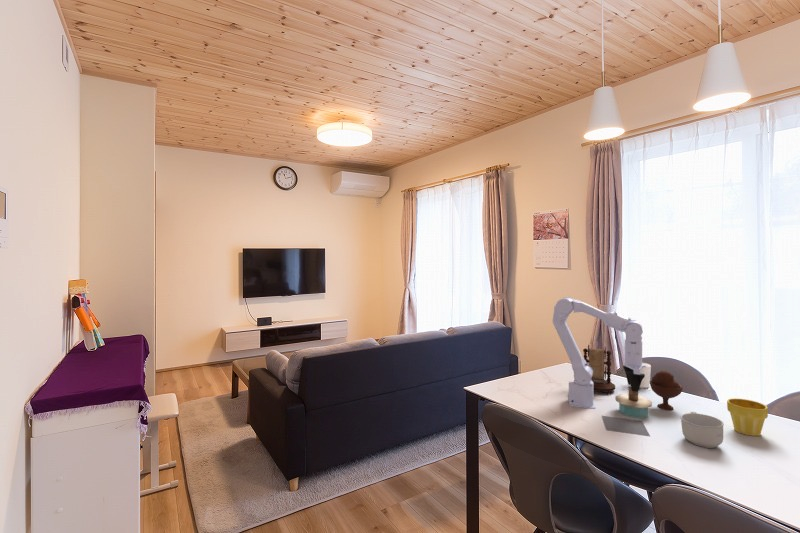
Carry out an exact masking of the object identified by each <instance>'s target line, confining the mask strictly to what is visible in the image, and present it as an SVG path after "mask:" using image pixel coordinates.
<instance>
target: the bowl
mask: <svg viewBox="0 0 800 533" xmlns="http://www.w3.org/2000/svg"><path fill="white" fill-rule="evenodd" d="M618 411H619V413H620V414H622V415H625V416H627V417H631V418H638V419H642V418H647V417H648V416H649V408H636V407H630V406H626V405H623V404H620V403H618Z"/></svg>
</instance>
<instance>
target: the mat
mask: <svg viewBox="0 0 800 533" xmlns="http://www.w3.org/2000/svg"><path fill="white" fill-rule="evenodd" d="M601 417H602V421H603V424H604V427H605V431H611V432H617V433H623V434H624V433H625V434H632V435H637V436H645V437H651V435H650V433H649V431H648V429H647V428H646V426H645V424H644V422H643V421H642V420H639V419H638V420H637V419H631V418H623V417H622V418H621V417H615V416H608V415H602V416H601Z"/></svg>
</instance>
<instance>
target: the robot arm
mask: <svg viewBox="0 0 800 533" xmlns="http://www.w3.org/2000/svg"><path fill="white" fill-rule="evenodd" d="M572 312H573V313H574V314H575V313H584V314H586V315H589V316H592V317H594V318H597V319H599V320H601V321H603V324H604V325H606V326H607V327H610V328H612V329H614V330H616V331H619V332H622V333H623V332H624V334H625V339H624V363H623V365H622V368H623V369H624V370H623V371H624V372H625V376H626V381H627V385H628V386H630V387H631V389H632V391H636V392H638V393H639V392H640V388H641V387H640V385H641V382H642V380H643V378H644V377H645V374H641V373H640V370H641V369H642V368H643V367H646V365H644V364H642V363H643V341H642V340H643V336H642V335H643V333H644V331H643V327H642V326H643V325H642V324H641V323H640V322H638V321H637V320H636V319H632V318H630V317H626V316H624V315H623V316H622V315H621V314H619V312H617V311H609V312H606V311H603V310H602V309H601V310H600V309H598V308H597V307H594V306H592V305H590V304H589V303H586V302H583V301H581V300H579V299H576V298H572V297H570V296H565V297H562V298H560V299H559V300H558V301H557V302H556V303H555V305H554V307H553V316H552V324H553V326H554V329H555V330H556V332H557V335H558V337H559V339H560V341H561V344H562V346H563V347H564V350H565V352H566V354H567V356H568V358H569V360H570V363H571V369H572V370H573V378H574V380H573V381H568V395H567V400H568V405H569V406H570V407H575V408H576V407H577V408H585V409H593V410H595V409H596V406H595V402H594V383H593V382H592V380H591V377H592V376H593V369H592V368H591V367H590V366H589V363H587V362H586V360H585V359H584V356H583V355H582V353H581V350H580V349H579V346H578V344H577V342H576V340H575V338H574V336H573V334H572V331H571V329H570V328H569V325H568V324H567V320H568V319H569V317H570V316H569V315H570V314H571V313H572Z"/></svg>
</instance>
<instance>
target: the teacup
mask: <svg viewBox="0 0 800 533" xmlns="http://www.w3.org/2000/svg"><path fill="white" fill-rule="evenodd" d="M680 419H681V421H680V422H681V423H680V424H681V430H682V434H683V436H684V438H685V439H686V440H687V441H689V442H690V443H691V444H694V445H696V446H699V447H703V448H707V449H713V448H714V449H715V448H717V446H720V445H722V443H724V425H725V424H724V421H722V420H721V419H719V418H718V417H715V416H711V415H708V414H703V413H697V412H696V411H690V412H689V413H684V414H681V415H680Z"/></svg>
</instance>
